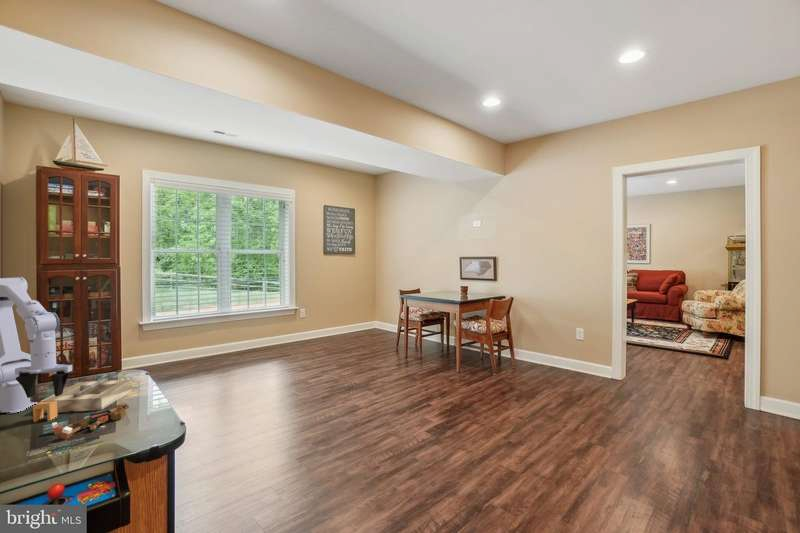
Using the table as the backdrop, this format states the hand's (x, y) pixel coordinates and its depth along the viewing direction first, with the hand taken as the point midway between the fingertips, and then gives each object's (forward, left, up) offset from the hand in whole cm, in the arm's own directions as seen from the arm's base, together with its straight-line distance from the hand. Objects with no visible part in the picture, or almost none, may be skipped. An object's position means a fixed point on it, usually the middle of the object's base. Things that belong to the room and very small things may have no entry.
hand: (45, 395), depth 116 cm
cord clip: (0, 0, -7) cm, 7 cm away
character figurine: (+18, -7, -8) cm, 21 cm away
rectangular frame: (+4, +14, -7) cm, 16 cm away
